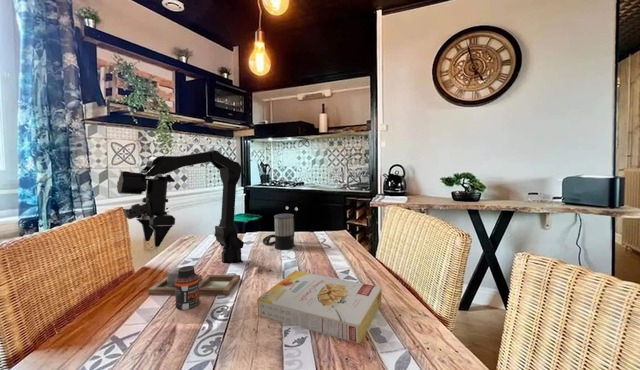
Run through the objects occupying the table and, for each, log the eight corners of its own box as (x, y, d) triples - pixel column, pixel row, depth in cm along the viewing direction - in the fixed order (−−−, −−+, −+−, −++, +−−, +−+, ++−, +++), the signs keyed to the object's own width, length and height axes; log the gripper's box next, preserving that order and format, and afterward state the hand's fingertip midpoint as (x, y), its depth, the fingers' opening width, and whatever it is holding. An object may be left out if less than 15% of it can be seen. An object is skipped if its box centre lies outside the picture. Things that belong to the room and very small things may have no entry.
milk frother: (293, 250, 129) (292, 217, 128) (258, 250, 129) (257, 217, 128) (296, 241, 143) (296, 211, 142) (264, 241, 143) (263, 211, 142)
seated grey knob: (173, 282, 94) (172, 266, 94) (188, 282, 94) (187, 266, 93) (164, 289, 89) (163, 272, 89) (180, 289, 89) (179, 272, 88)
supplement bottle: (191, 315, 76) (188, 273, 75) (171, 312, 78) (168, 271, 77) (204, 303, 82) (202, 264, 81) (185, 302, 83) (183, 263, 82)
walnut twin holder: (169, 281, 97) (169, 274, 97) (240, 282, 96) (240, 275, 96) (148, 297, 86) (148, 289, 86) (228, 298, 85) (228, 290, 85)
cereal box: (294, 269, 93) (382, 284, 81) (295, 285, 94) (382, 302, 82) (255, 298, 75) (361, 322, 63) (256, 318, 76) (361, 346, 64)
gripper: (119, 191, 94) (114, 240, 94) (136, 196, 81) (131, 252, 81) (156, 193, 102) (152, 237, 102) (177, 197, 89) (173, 248, 89)
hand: (151, 243), depth 93 cm, fingers open, 9 cm apart
